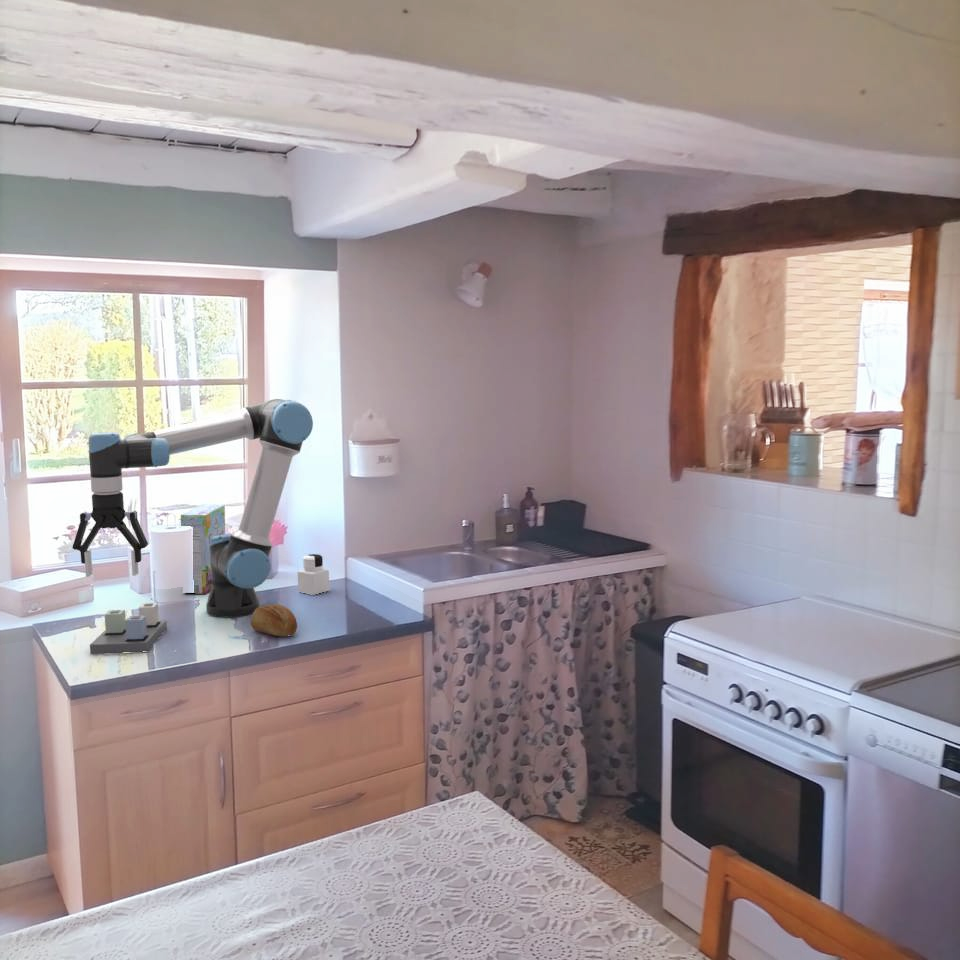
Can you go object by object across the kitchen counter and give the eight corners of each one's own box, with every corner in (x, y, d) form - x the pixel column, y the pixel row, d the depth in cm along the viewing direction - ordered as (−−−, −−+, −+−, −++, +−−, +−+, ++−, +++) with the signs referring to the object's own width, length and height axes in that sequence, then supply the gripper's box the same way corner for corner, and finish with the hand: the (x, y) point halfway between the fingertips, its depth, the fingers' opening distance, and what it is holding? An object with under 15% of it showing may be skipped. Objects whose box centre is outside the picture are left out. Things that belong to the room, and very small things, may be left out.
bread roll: (279, 643, 238) (278, 613, 237) (241, 633, 246) (240, 605, 245) (306, 634, 246) (305, 605, 245) (268, 624, 254) (267, 597, 253)
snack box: (208, 594, 286) (205, 514, 282) (181, 594, 286) (177, 514, 282) (228, 578, 307) (225, 503, 304) (203, 578, 308) (199, 503, 304)
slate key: (146, 634, 236) (145, 614, 235) (142, 638, 232) (141, 619, 231) (131, 634, 236) (130, 615, 235) (126, 639, 232) (125, 619, 231)
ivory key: (158, 620, 248) (157, 602, 247) (154, 625, 244) (154, 606, 243) (143, 621, 247) (142, 602, 247) (139, 625, 243) (138, 606, 243)
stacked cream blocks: (314, 588, 294) (313, 551, 292) (329, 591, 290) (328, 554, 288) (297, 592, 288) (296, 555, 287) (313, 596, 284) (312, 558, 282)
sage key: (126, 628, 241) (124, 609, 240) (121, 632, 237) (120, 613, 237) (110, 628, 241) (109, 609, 240) (105, 633, 237) (104, 613, 236)
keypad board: (166, 628, 250) (166, 620, 250) (147, 652, 231) (146, 642, 230) (114, 630, 249) (114, 621, 249) (90, 654, 229) (89, 644, 229)
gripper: (157, 489, 239) (162, 570, 242) (65, 491, 237) (71, 572, 240) (149, 493, 231) (154, 577, 234) (54, 495, 229) (60, 579, 232)
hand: (112, 575), depth 237 cm, fingers open, 11 cm apart
